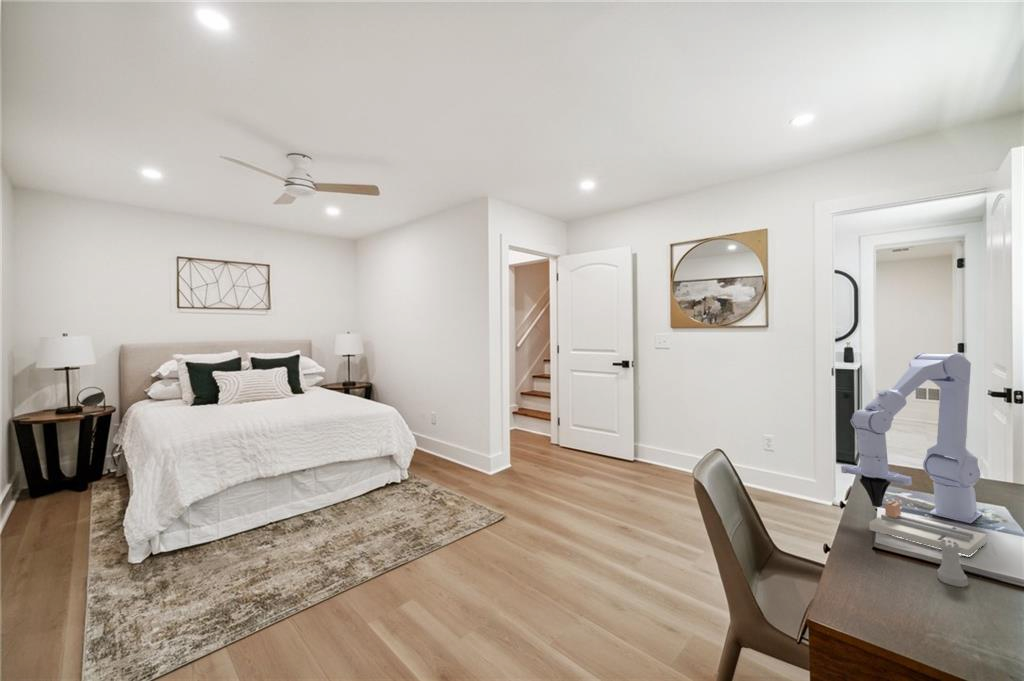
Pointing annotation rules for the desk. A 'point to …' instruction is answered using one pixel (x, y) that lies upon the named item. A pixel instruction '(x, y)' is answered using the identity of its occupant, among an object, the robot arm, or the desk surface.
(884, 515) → the white slider track board
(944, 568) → the rook chess piece
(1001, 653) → the desk surface
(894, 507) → the fader
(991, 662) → the desk surface
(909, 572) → the desk surface
